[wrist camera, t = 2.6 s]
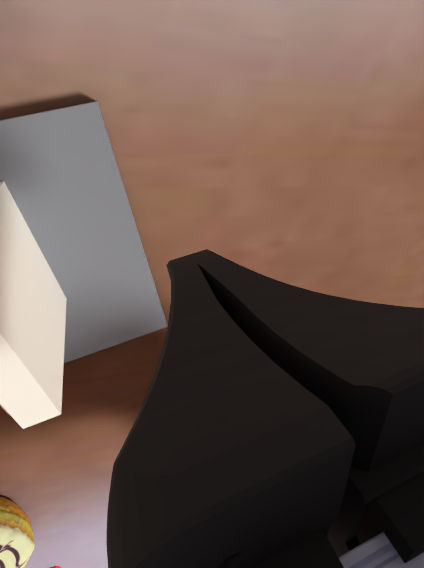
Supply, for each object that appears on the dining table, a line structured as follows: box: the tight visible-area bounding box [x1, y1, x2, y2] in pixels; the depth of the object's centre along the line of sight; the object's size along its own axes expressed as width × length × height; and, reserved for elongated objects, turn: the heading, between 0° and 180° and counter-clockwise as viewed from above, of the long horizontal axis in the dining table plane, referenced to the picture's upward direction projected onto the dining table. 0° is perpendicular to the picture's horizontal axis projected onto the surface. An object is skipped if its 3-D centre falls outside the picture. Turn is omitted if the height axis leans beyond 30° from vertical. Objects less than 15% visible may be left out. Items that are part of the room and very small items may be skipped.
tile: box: [0, 181, 67, 429], centre depth 11 cm, size 6×2×7 cm, turn 9°
